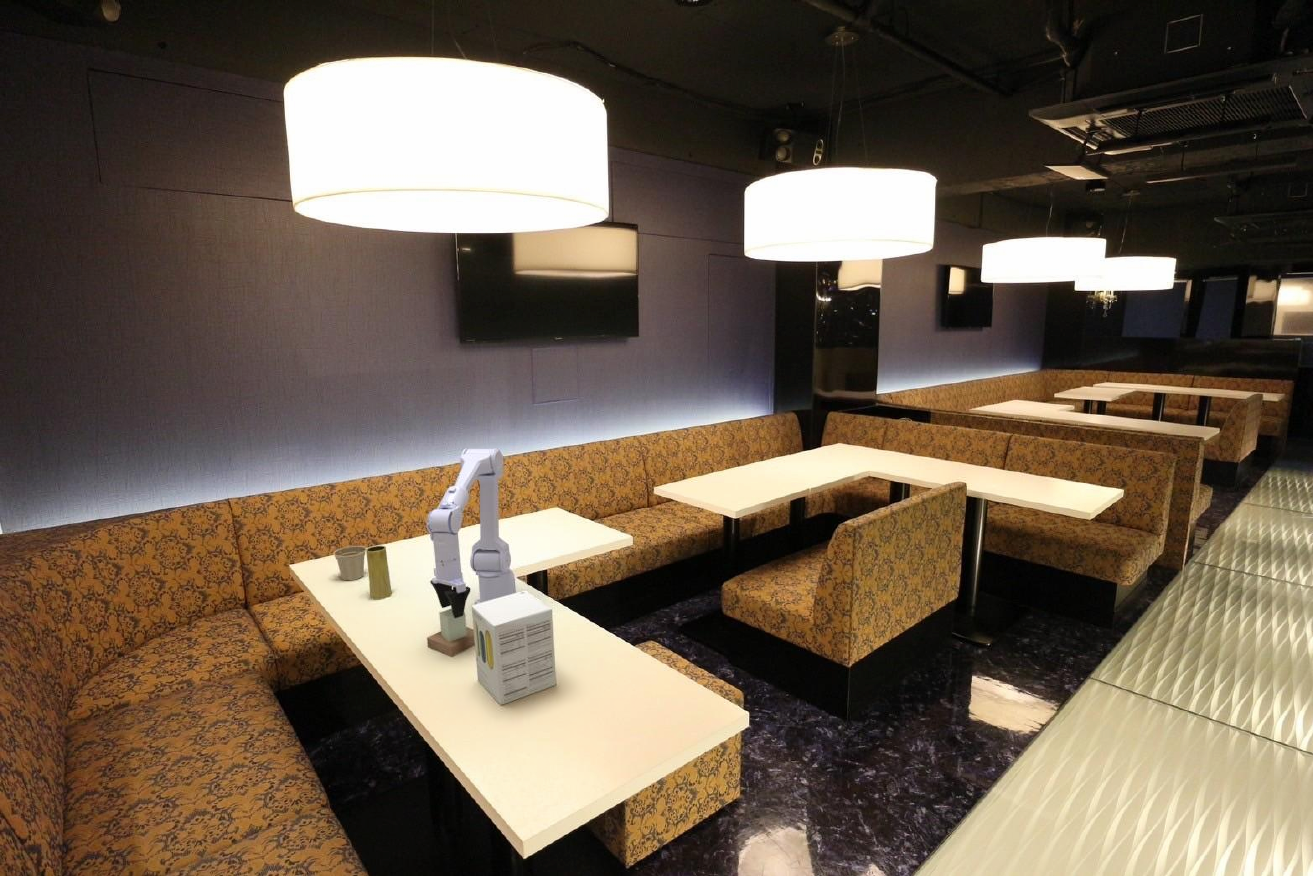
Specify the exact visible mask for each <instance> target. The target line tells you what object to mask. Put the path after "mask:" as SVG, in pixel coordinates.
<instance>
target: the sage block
mask: <svg viewBox="0 0 1313 876" xmlns="http://www.w3.org/2000/svg"><path fill="white" fill-rule="evenodd" d="M438 615H439V623H440V624H439V625H440V631H441V636H442V637H444V638H445V639H446V640H447V641H449V642H451V641H454V640H456V639H459V638H462V637H465V636H467V630H466V627H467V619H466V612H465V611H464V615H463V616H461V617H458V618H454V616H453V613H452V609H451V608H450V609H446V610H442V611H440V612H439V613H438Z"/></svg>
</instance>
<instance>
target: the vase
mask: <svg viewBox="0 0 1313 876" xmlns="http://www.w3.org/2000/svg"><path fill="white" fill-rule="evenodd" d="M366 549H367V550H366V551H365V554H366V561H367V572H368V573H367V574H368V583H369V598H370V599H372V600H382V599H383V600H384V599H386V598H388V597H390V596H392V595H393V590H392V586H391V576H390V569H389V564H388V557H387V555H388V554H387V547H386V546H384V545H373V546H370V547H368V548H366Z"/></svg>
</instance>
